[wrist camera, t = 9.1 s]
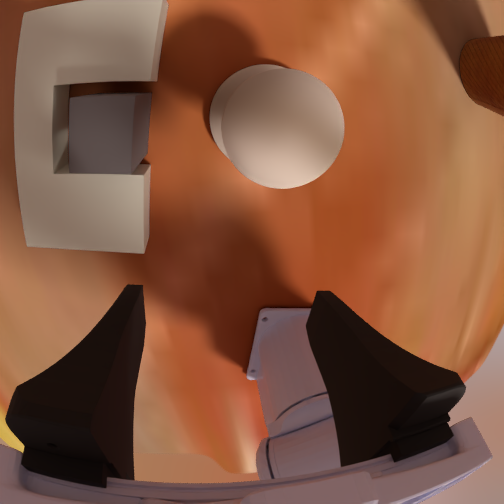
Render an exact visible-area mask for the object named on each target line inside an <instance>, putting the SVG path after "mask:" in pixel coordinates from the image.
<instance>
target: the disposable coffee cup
mask: <svg viewBox="0 0 504 504" xmlns="http://www.w3.org/2000/svg"><path fill="white" fill-rule="evenodd" d="M460 74H461V78H462V82H463V85H464V88H465V90H466V92H467V94H468V95H469V97H470V98H471V99H472V100H473V101H474V102H475V103H477V104H478V105H480V106H483V107H485V108H487V109H489V110H492V111H493V112H496V113H498V114H500V115H502V116H504V36H494V37H486V38H479V39H472V40H470V41H468V42H467V43H466V44H465V46H464V47H463V49H462V52H461V56H460Z"/></svg>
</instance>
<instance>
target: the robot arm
mask: <svg viewBox="0 0 504 504" xmlns="http://www.w3.org/2000/svg"><path fill="white" fill-rule="evenodd" d="M265 317H266V318H265ZM263 318H265V319H263ZM145 327H146V319H145V308H144V296H143V285H130V284H128V285H127V286H126V287H125V288H124V290H123V291H122V293H121V294H120V295H119V297H118V298H117V300H116V301H115V302H114V304H113V305H112V306H111V308H110V309H109V310H108V311H107V313H106V314H105V315H104V317H103V318H102V319H101V320H100V321H99V322H98V324H97V325H96V326H95V327H94V328H93V329H92V330H91V332H90V333H89V334H88V335H87V336H86V337H85V338H84V339H83V340H82V341H81V342H80V343H79V344H78V345H77V346H76V347H74V348H73V349H72V350H71V351H70V352H69V353H68V354H66V355H65V356H64V357H63V358H62V359H60V360H59V361H58V362H56V363H55V364H54V365H52V366H51V367H49V368H48V369H46V370H45V371H43V372H42V373H40V374H39V375H37V376H35V377H33V378H32V379H30V380H28V381H26V382H24V383H22V384H21V385H19V386H17V387H16V389H15V392H14V394H13V396H12V399H11V402H10V405H9V408H8V411H7V415H6V418H5V420H6V424H7V425H8V427H9V428H10V430H11V431H12V432H13V433H14V435H15V436H16V437H17V438H18V439H19V440H20V441H21V442H22V443H23V444H24V446H25V447H24V452H23V453H22V452H20V451H18V450H16V449H14V448H11V447H8V446H5V445H2V444H0V504H418V503H420V502H422V501H424V500H426V499H428V498H430V497H432V496H434V495H436V494H438V493H440V492H442V491H443V490H446V489H447V488H449V487H451V486H453V485H455V484H457V483H458V482H460V481H461V480H463V479H464V478H466V477H467V476H469V475H470V474H472V473H473V472H474V471H476V470H477V469H479V468H480V467H481V466H483V465H484V464H485V463H486V462H488V461H489V460H491V459H492V457H493V456H492V454H491V452H490V450H489V448H488V446H487V444H486V443H485V441H484V439H483V437H482V435H481V433H480V431H479V430H478V428H477V426H476V425H475V423H474V421H473V419H472V418H471V417H469V418H467V419H465V420H463V421H460V422H458V423H456V424H454V425H453V426H451V427H449V425H448V423H447V422H449V421H450V417H449V415H448V412H449V411H450V410H451V409H452V408H453V407H454V406H455V405H456V404H457V403H458V402H459V400H460V399H461V398H462V397H463V395H464V393H465V390H466V387H465V385H464V383H463V381H462V380H461V378H460V377H459V375H458V374H457V373H456V372H453V371H450V370H448V369H445V368H442V367H439V366H436V365H434V364H432V363H429V362H427V361H425V360H423V359H421V358H419V357H417V356H415V355H413V354H411V353H409V352H408V351H406V350H404V349H402V348H401V347H399V346H398V345H396V344H395V343H393V342H392V341H390V340H389V339H387V338H386V337H384V336H383V335H382V334H380V333H379V332H378V331H376V330H375V329H374V328H373V327H371V326H370V325H369V324H368V323H366V322H365V321H364V320H363V319H362V318H361V317H359V316H358V315H357V314H356V313H355V312H354V311H353V310H352V309H350V308H349V307H348V306H347V305H346V304H345V303H344V302H343V301H341V300H340V299H339V298H338V297H337V296H336V295H335V294H333V293H332V292H331V291H317V293H316V296H315V299H314V302H313V305H312V308H264V309H262V310H261V311H260V312H259V317H258V322H257V327H256V332H255V336H254V341H253V346H252V351H251V355H250V360H249V365H248V369H247V374H246V376H247V379H249V380H257V384H258V389H259V395H260V400H261V405H262V410H263V415H264V420H265V424H266V426H267V429H268V434H269V437H267V438H264V439H262V440H261V442H260V444H259V448H258V450H257V453H256V466H257V472H258V475H259V479H260V480H259V481H247V482H233V483H203V484H202V483H199V484H198V483H197V484H196V483H195V484H194V483H191V484H190V483H161V482H146V481H135V480H134V461H133V418H134V398H135V390H136V384H137V379H138V373H139V368H140V363H141V358H142V352H143V347H144V339H145ZM253 369H254V370H253Z"/></svg>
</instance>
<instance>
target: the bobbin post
mask: <svg viewBox="0 0 504 504" xmlns="http://www.w3.org/2000/svg"><path fill="white" fill-rule="evenodd" d="M210 127H211V132H212V135H213V138H214V140H215V142H216V144H217V146H218V147H219V149H220V150H221V151H222V152H223V153H224V154H225V156H226V157H228V158H229V159H230V160H231V162H232V163H233V164H234V166H235V167H236V168H237V169H238V170H239V171H240V172H241V173H242V174H243V175H244V176H246V177H247V178H248V179H250V180H252V181H253V182H255V183H258V184H260V185H263V186H266V187H271V188H280V189H285V188H294V187H298V186H301V185H304V184H307V183H309V182H311V181H313V180H315V179H316V178H318V177H319V176H320V175H322V174H323V173H324V172H325V171H326V170H327V169H328V168H329V167H330V166H331V164H332V163H333V162H334V160H335V159H336V157H337V155H338V153H339V151H340V149H341V146H342V142H343V137H344V118H343V113H342V110H341V107H340V104H339V102H338V100H337V99H336V97H335V95H334V94H333V93H332V91H331V90H330V89H329V88H328V87H327V86H326V85H325V84H324V83H323V82H322V81H320V80H319V79H318V78H316V77H314V76H313V75H311V74H308V73H306V72H303V71H299V70H295V69H287V68H284V67H281V66H277V65H269V64H262V65H254V66H250V67H247V68H244V69H242V70H240V71H238V72H236V73H234V74H233V75H231V76H230V77H229V78H228V79H226V80H225V81H224V82H223V84H222V85H221V86H220V87H219V89H218V90H217V92H216V94H215V96H214V98H213V101H212V103H211V108H210Z"/></svg>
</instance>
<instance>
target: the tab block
mask: <svg viewBox="0 0 504 504" xmlns="http://www.w3.org/2000/svg"><path fill="white" fill-rule="evenodd" d="M151 99H152V93H138V92H128V93H97V94H90V95H84V96H78V97H72V98H70V103H69V173H83V174H132V173H133V171H134V170H135V169H136V167H137V166H138V165H139V163H140V162H141V161H142V160H143V158H144V157H145V156H146V154H147V153H148V136H149V122H150V110H151Z"/></svg>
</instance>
